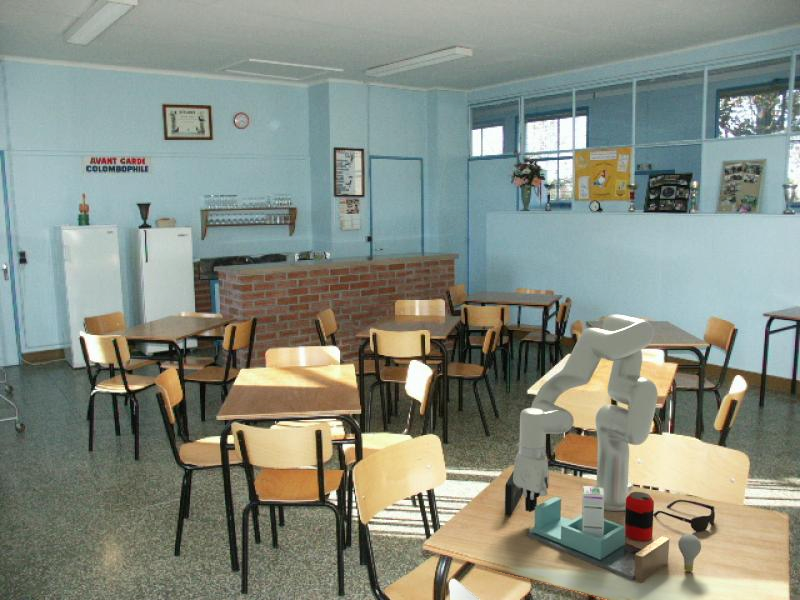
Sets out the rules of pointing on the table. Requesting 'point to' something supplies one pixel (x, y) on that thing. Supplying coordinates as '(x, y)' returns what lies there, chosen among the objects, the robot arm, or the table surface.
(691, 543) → the light bulb
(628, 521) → the soda can
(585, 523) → the syrup box
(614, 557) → the rail
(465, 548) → the table surface
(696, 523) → the sunglasses
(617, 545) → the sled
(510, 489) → the nameplate
